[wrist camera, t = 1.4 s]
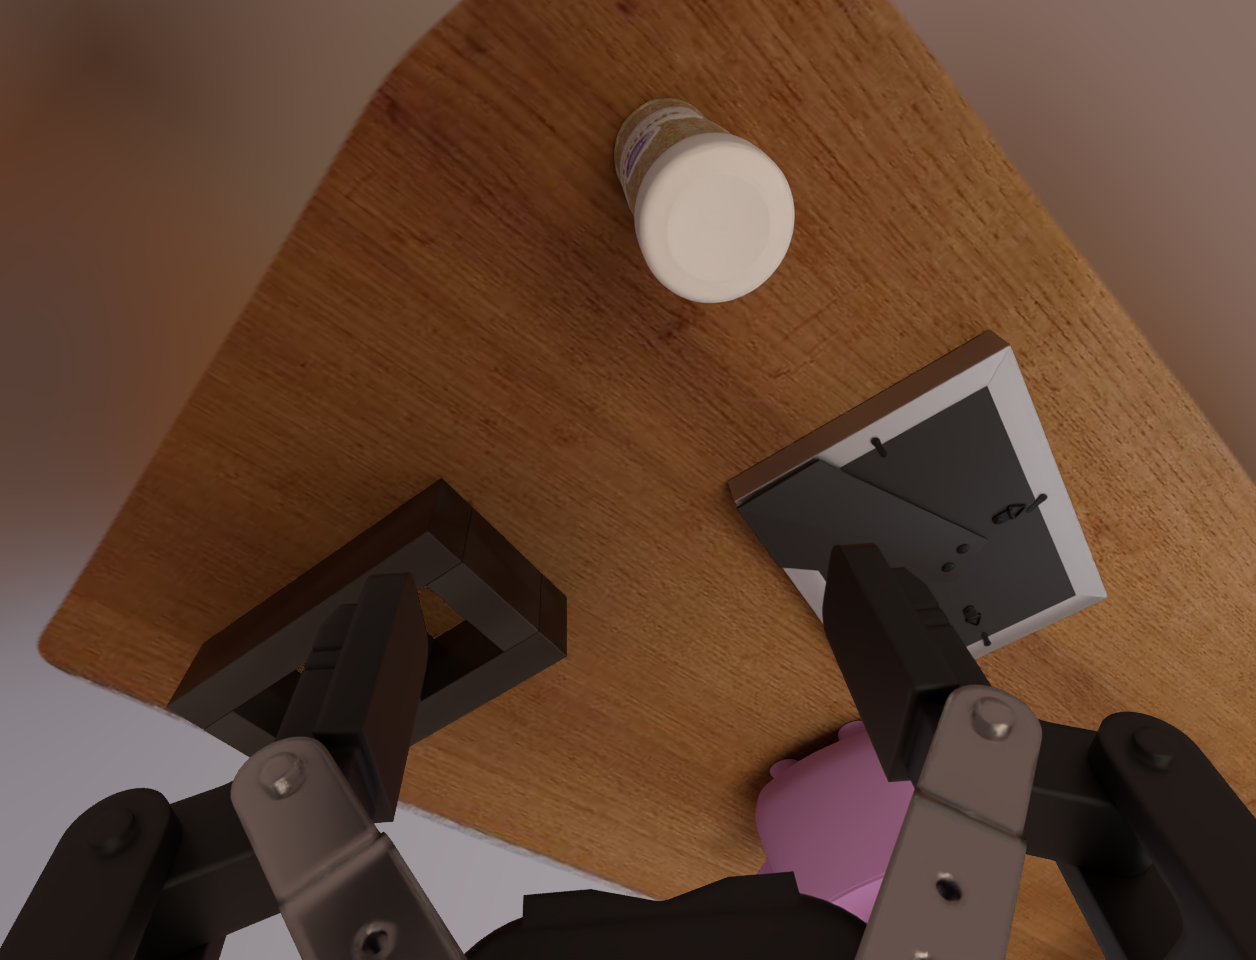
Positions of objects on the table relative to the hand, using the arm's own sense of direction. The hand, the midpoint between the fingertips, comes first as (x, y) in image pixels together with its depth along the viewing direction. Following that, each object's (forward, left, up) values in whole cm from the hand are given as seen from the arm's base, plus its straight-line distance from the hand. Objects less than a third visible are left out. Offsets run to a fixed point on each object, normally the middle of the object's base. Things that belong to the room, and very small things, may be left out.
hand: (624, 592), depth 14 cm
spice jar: (-2, +5, -24) cm, 25 cm away
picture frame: (+25, +6, -24) cm, 36 cm away
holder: (+10, -24, -24) cm, 35 cm away
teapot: (+43, -8, -24) cm, 50 cm away
